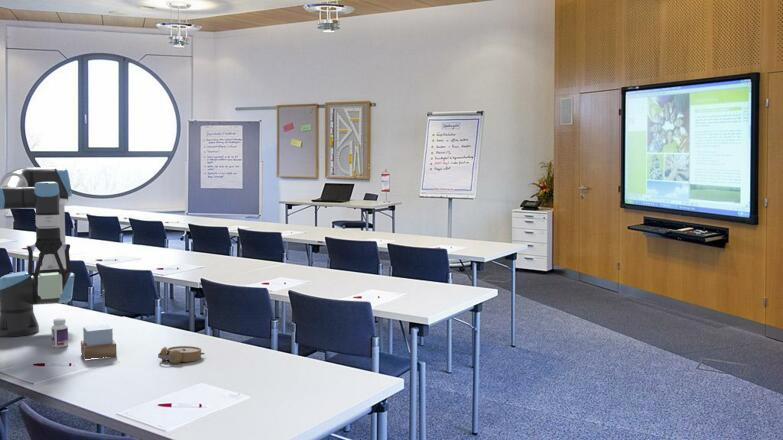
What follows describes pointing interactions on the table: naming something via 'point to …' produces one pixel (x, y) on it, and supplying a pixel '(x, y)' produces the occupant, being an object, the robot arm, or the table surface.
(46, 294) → the green block
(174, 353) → the alarm clock
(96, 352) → the tower base
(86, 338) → the tower top
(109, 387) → the table surface
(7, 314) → the robot arm
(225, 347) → the table surface
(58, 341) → the pill bottle
